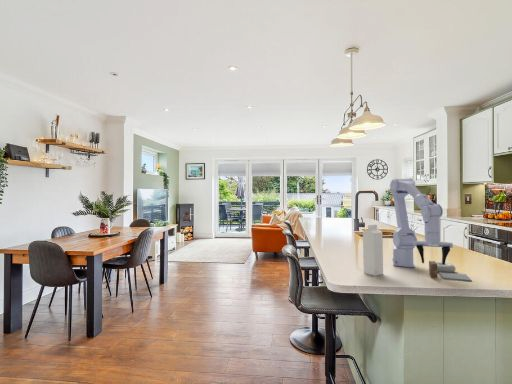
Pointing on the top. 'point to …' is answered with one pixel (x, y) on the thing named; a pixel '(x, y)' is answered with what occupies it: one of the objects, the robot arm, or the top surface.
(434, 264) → the tall brown wooden block
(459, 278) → the mat
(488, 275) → the top surface
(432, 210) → the robot arm
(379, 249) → the milk
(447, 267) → the donut
